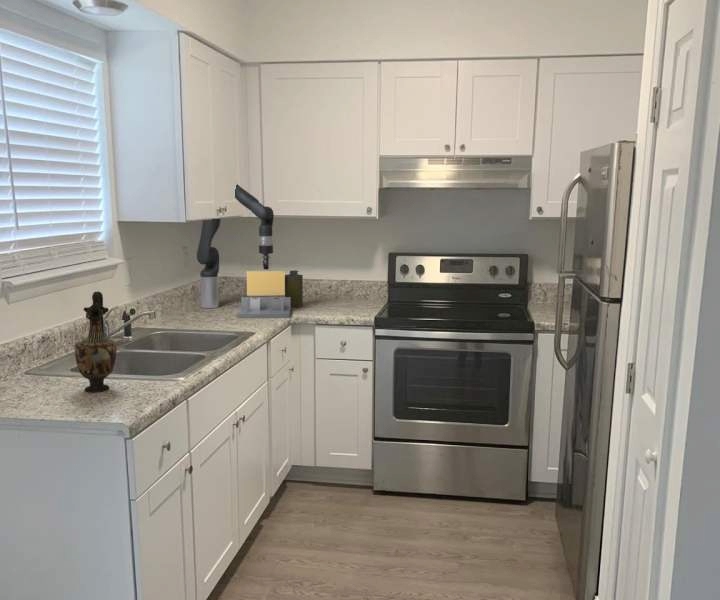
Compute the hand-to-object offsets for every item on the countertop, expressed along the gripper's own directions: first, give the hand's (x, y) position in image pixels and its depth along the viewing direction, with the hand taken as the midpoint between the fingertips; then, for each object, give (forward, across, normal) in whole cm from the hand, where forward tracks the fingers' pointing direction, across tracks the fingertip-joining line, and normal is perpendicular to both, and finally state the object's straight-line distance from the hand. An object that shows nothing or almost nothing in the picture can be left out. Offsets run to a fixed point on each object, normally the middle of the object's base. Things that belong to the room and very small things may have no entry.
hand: (266, 276), depth 327 cm
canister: (+19, +13, -14) cm, 27 cm away
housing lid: (+3, -4, 0) cm, 5 cm away
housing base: (+18, -14, 0) cm, 23 cm away
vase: (+17, -140, +42) cm, 148 cm away
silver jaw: (+16, -11, +5) cm, 20 cm away
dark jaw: (+16, -11, -6) cm, 20 cm away
